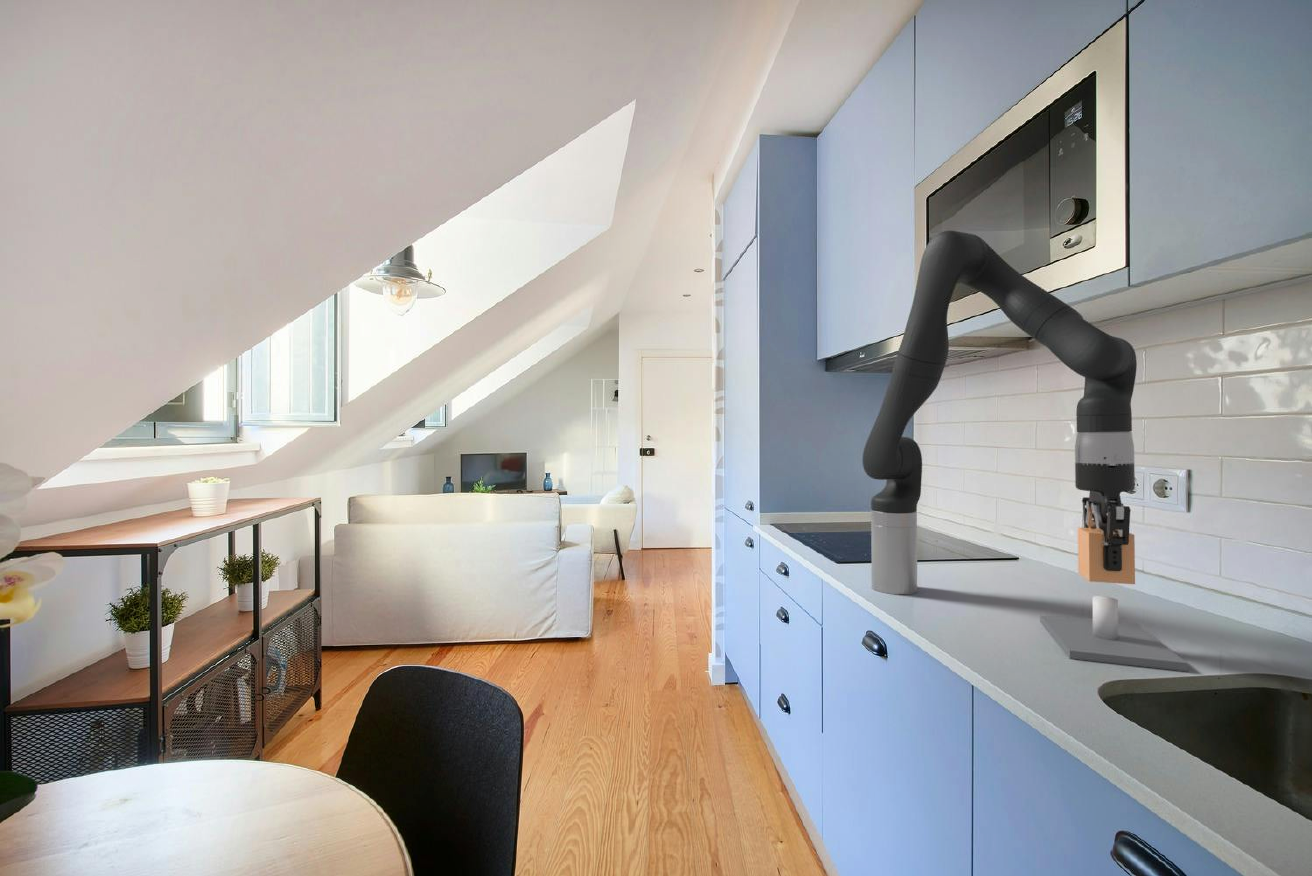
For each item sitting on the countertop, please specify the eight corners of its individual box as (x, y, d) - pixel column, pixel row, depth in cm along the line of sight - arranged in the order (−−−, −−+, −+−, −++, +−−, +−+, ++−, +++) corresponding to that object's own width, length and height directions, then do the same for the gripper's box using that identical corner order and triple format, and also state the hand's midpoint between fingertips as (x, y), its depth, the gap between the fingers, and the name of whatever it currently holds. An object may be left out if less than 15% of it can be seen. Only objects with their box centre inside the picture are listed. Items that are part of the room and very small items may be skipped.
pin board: (1040, 621, 104) (1040, 581, 104) (1136, 630, 99) (1136, 588, 99) (1069, 658, 88) (1069, 610, 88) (1187, 671, 83) (1187, 620, 82)
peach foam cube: (1078, 573, 97) (1077, 527, 97) (1121, 575, 95) (1120, 529, 95) (1089, 581, 92) (1088, 533, 92) (1135, 584, 89) (1134, 534, 89)
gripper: (1063, 459, 101) (1064, 556, 101) (1090, 462, 88) (1091, 574, 88) (1116, 459, 98) (1117, 559, 98) (1152, 462, 85) (1153, 578, 85)
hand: (1105, 565), depth 93 cm, fingers closed on peach foam cube, 5 cm apart
